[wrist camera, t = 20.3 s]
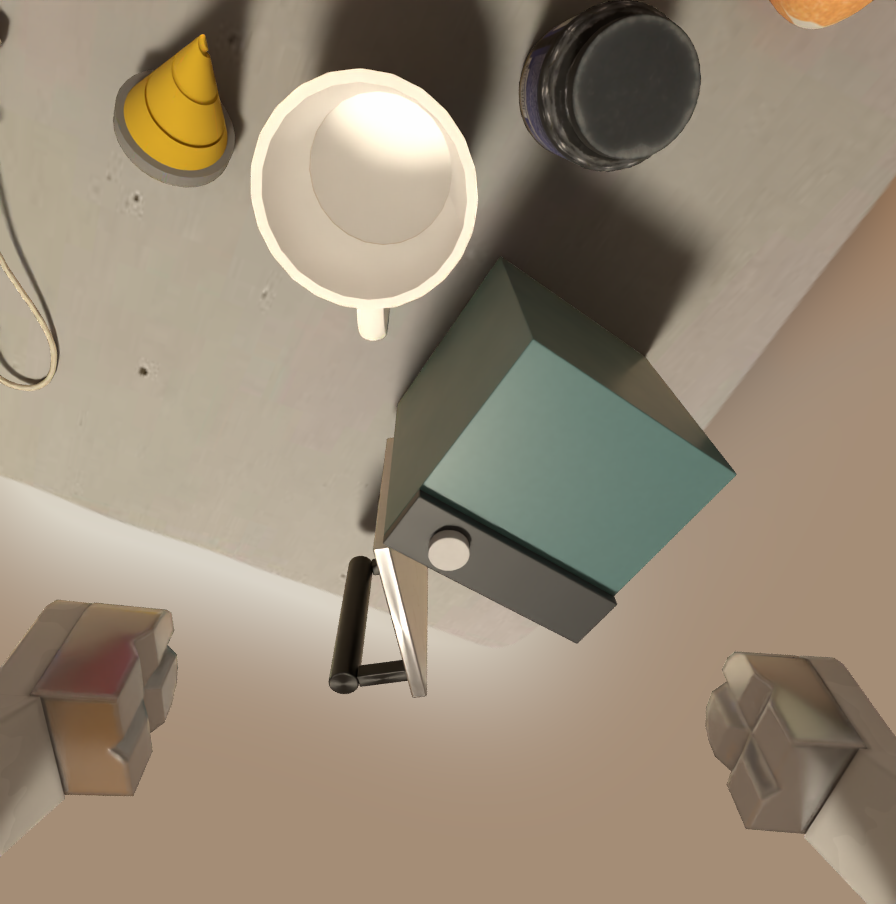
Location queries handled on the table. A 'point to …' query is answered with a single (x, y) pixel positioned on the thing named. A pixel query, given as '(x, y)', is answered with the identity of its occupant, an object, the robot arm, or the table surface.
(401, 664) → the washer door
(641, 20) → the pill bottle
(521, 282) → the washer
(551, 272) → the table surface
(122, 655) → the robot arm
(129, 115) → the drill bit
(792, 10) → the orange twig figurine
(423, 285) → the mug
